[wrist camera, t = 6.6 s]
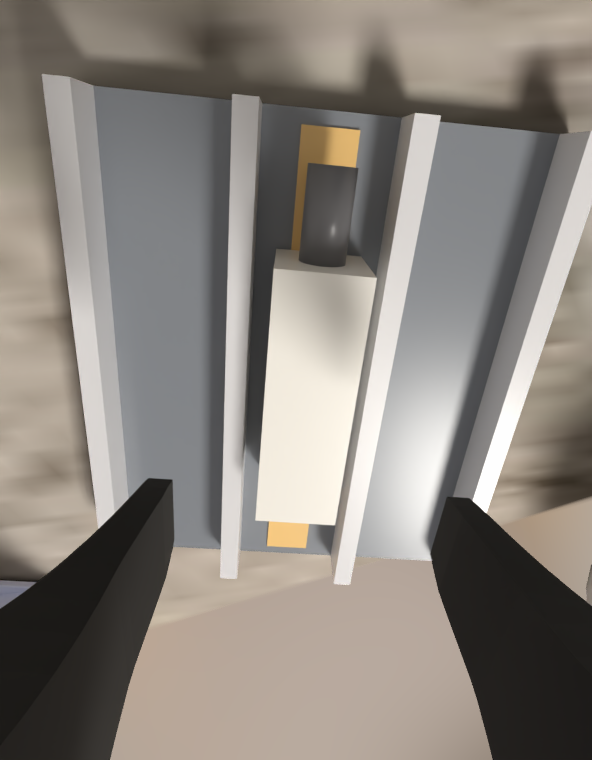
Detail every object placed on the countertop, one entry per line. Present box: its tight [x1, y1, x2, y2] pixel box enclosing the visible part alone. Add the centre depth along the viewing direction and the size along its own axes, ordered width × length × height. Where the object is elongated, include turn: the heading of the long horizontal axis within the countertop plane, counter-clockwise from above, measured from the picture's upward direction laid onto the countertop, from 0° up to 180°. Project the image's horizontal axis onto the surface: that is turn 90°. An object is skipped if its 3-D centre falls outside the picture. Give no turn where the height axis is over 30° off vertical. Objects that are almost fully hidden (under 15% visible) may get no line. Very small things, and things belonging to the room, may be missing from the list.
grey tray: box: [42, 74, 592, 585], centre depth 19 cm, size 20×18×3 cm
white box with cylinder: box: [255, 163, 377, 525], centre depth 17 cm, size 13×3×4 cm, turn 175°
